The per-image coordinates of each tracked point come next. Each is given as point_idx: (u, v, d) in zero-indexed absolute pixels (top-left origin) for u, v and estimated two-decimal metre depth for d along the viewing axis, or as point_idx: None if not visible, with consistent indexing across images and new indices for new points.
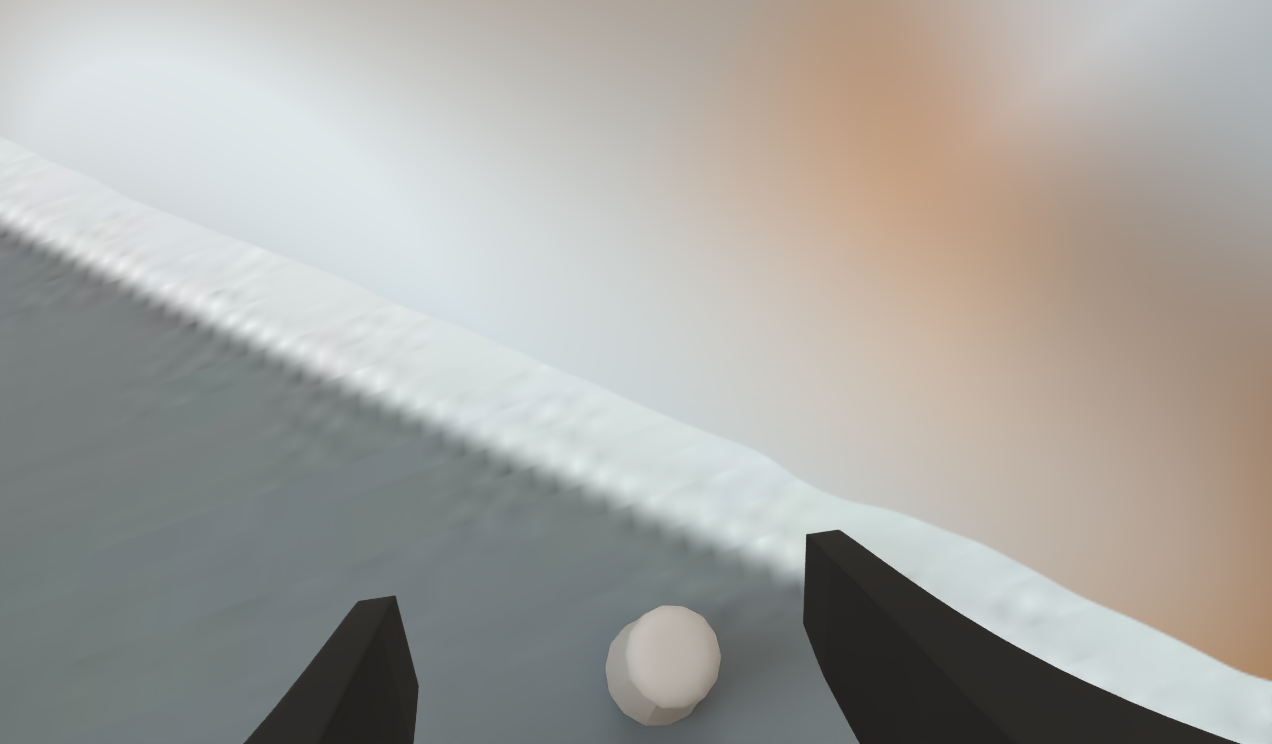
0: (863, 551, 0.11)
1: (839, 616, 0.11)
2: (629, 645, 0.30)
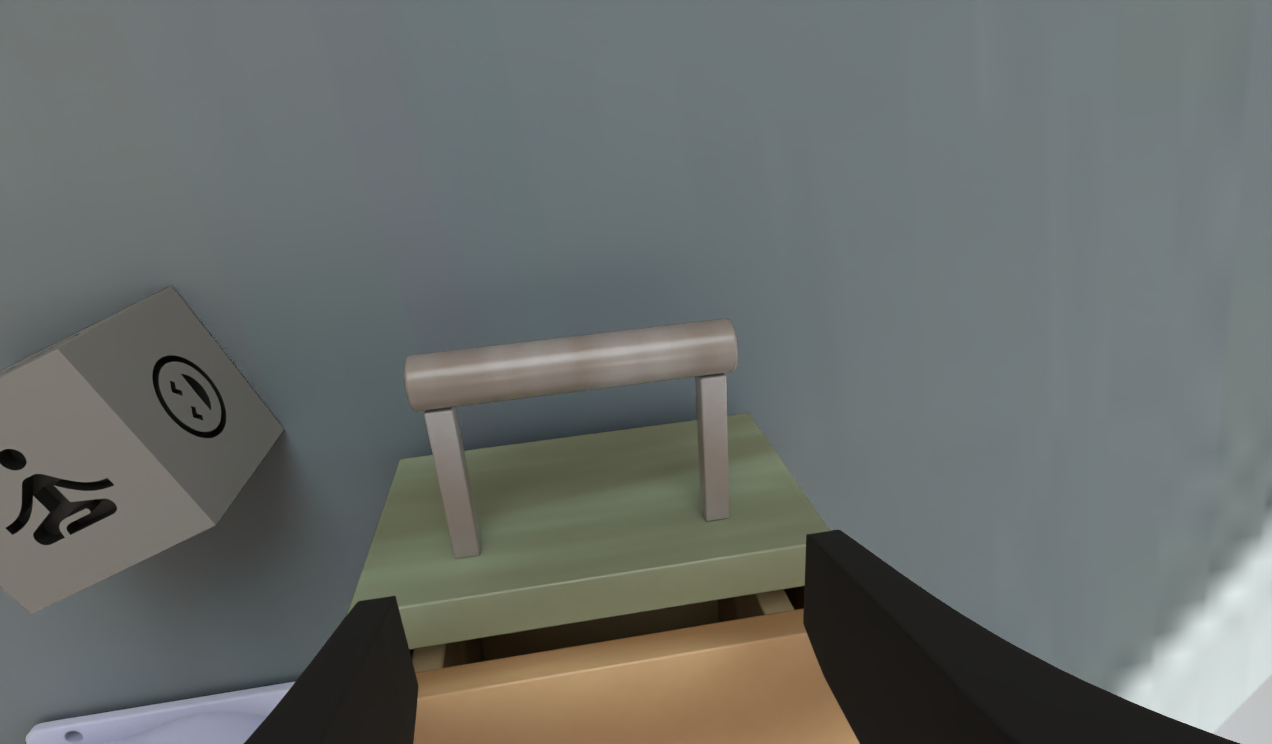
0: (862, 551, 0.11)
1: (839, 616, 0.11)
2: None
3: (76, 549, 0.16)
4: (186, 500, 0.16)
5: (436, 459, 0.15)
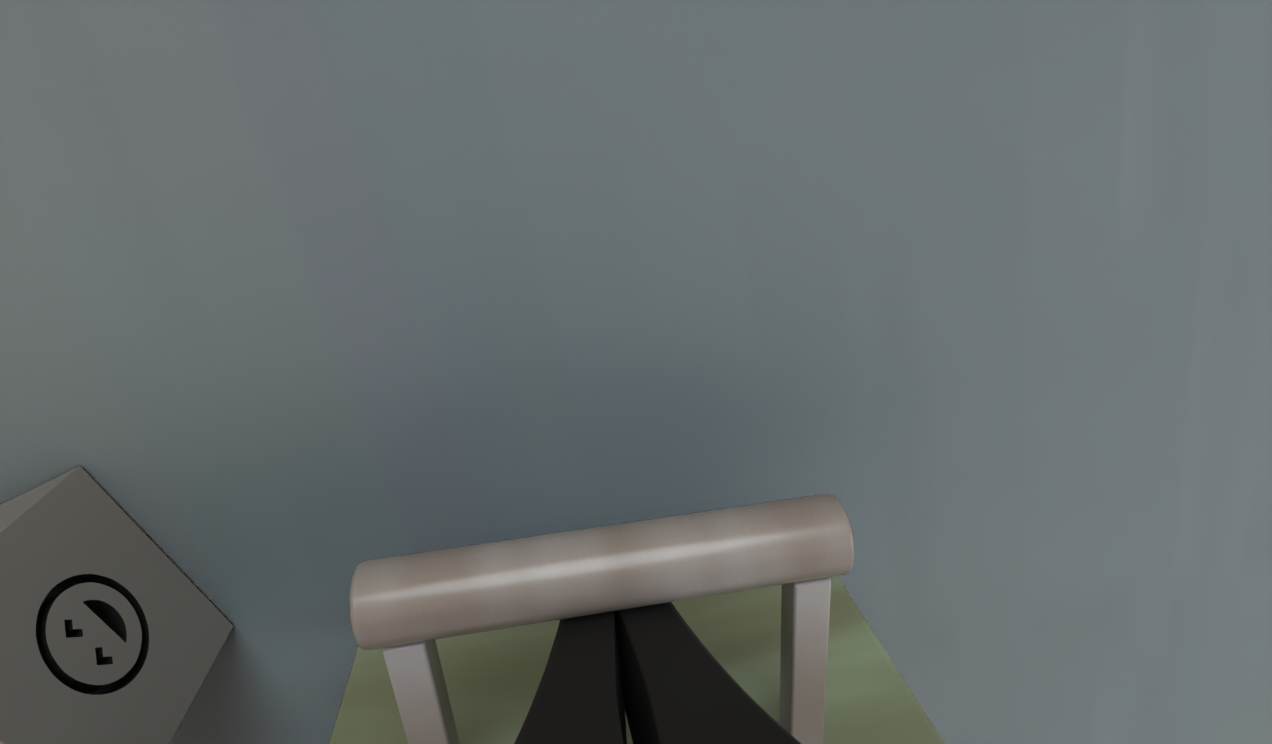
0: None
1: (622, 651, 0.11)
2: None
3: None
4: None
5: (402, 709, 0.10)
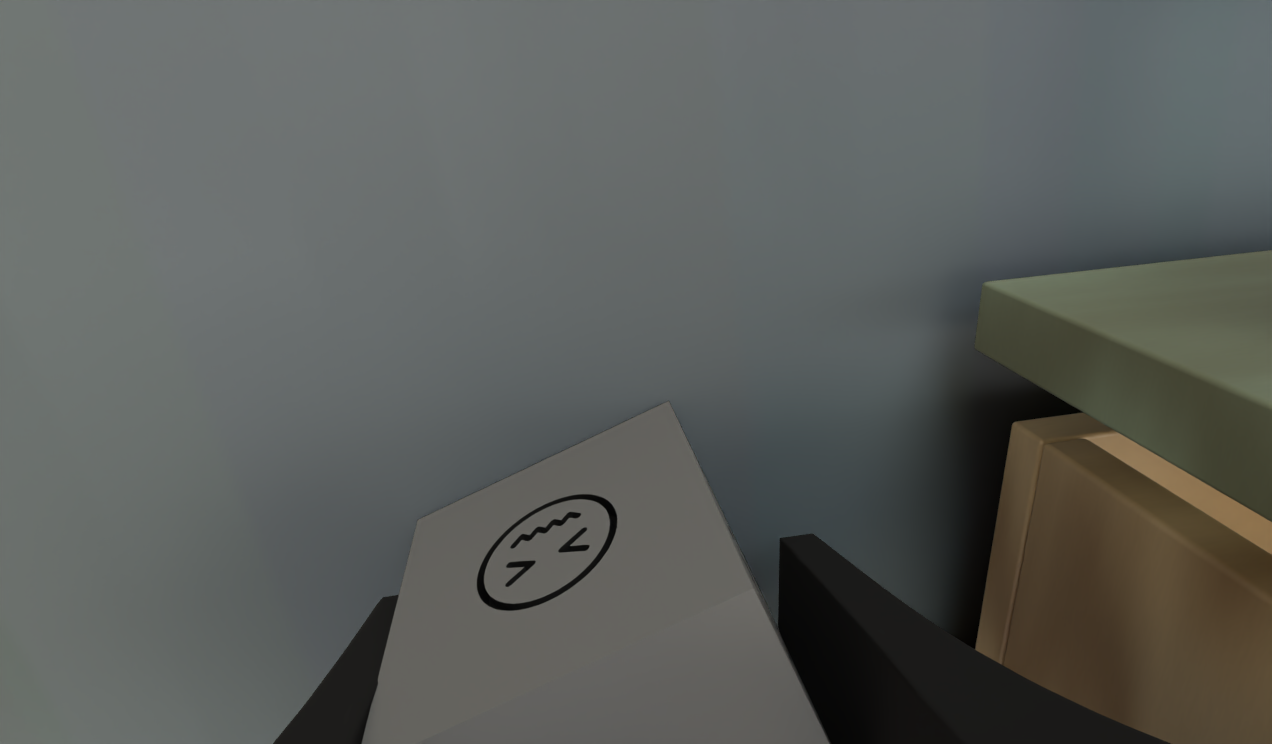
0: (834, 555, 0.11)
1: (810, 621, 0.11)
2: None
3: None
4: None
5: None
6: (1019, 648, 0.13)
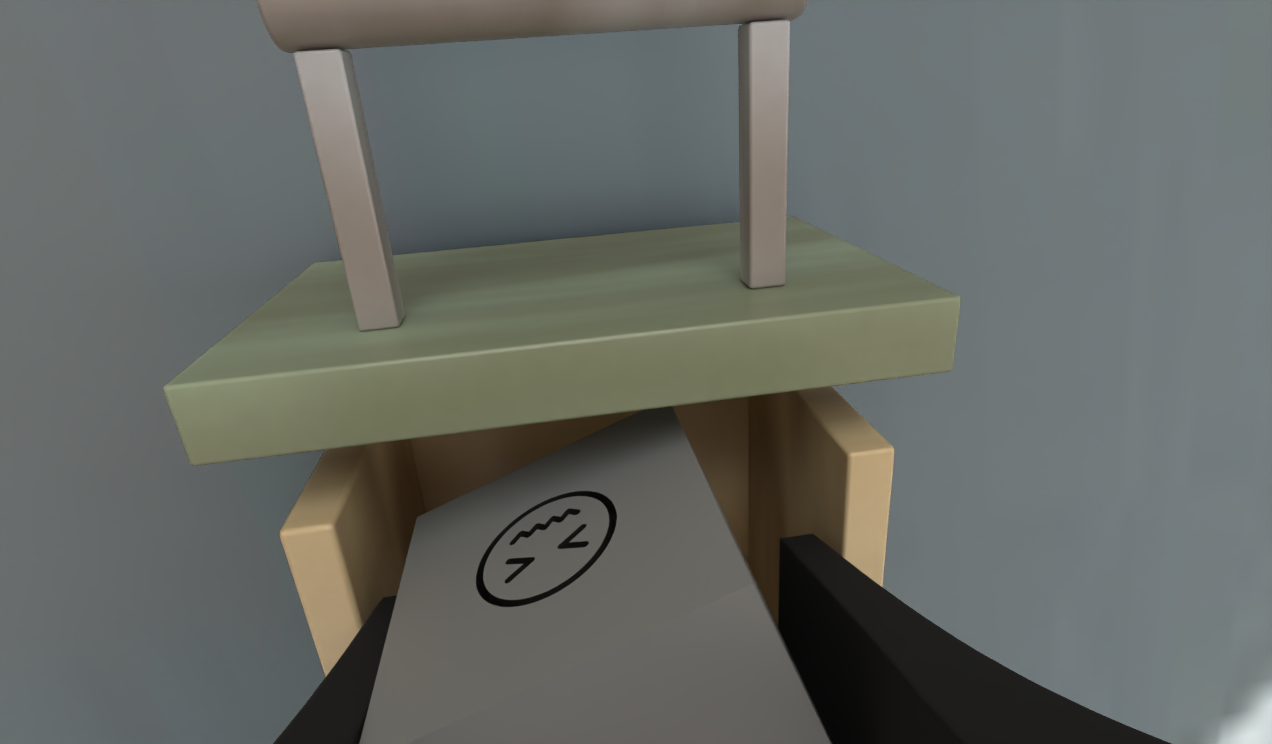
0: (835, 556, 0.11)
1: (810, 621, 0.11)
2: None
3: None
4: None
5: (318, 142, 0.09)
6: None
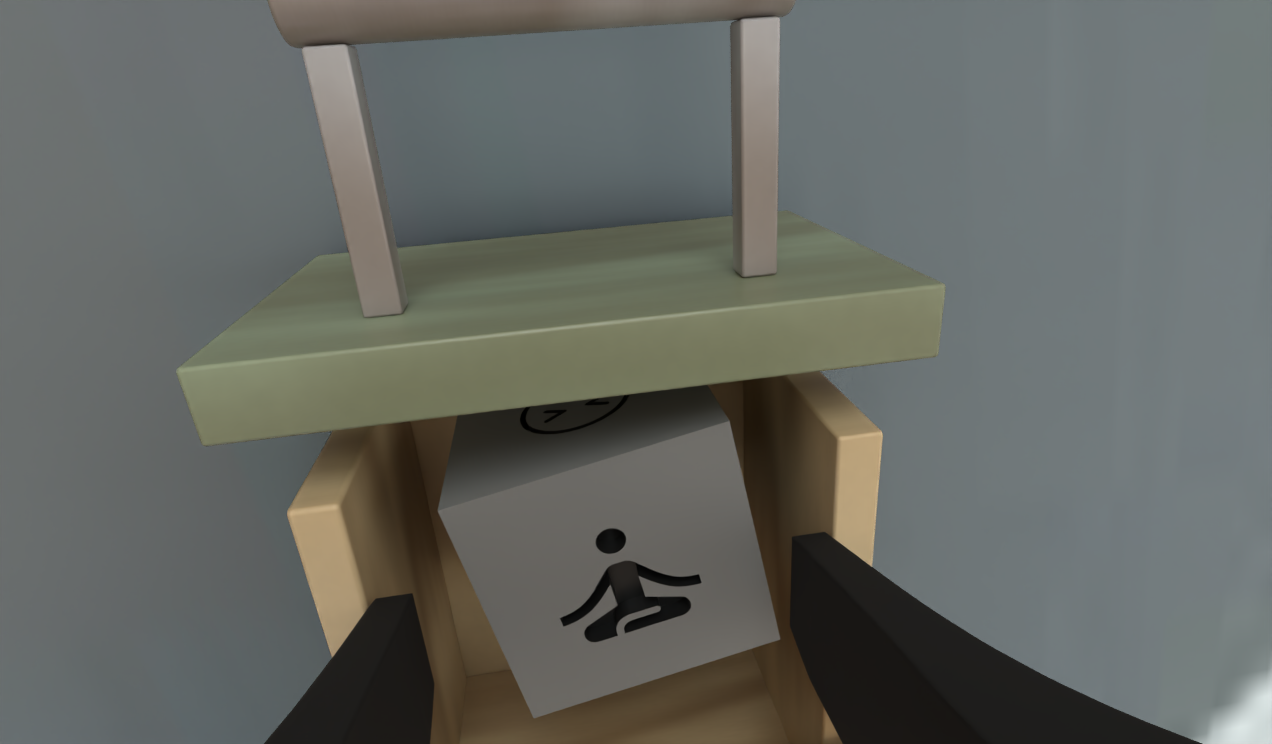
0: (848, 553, 0.11)
1: (823, 619, 0.11)
2: None
3: (621, 651, 0.13)
4: (766, 608, 0.13)
5: (325, 134, 0.10)
6: None
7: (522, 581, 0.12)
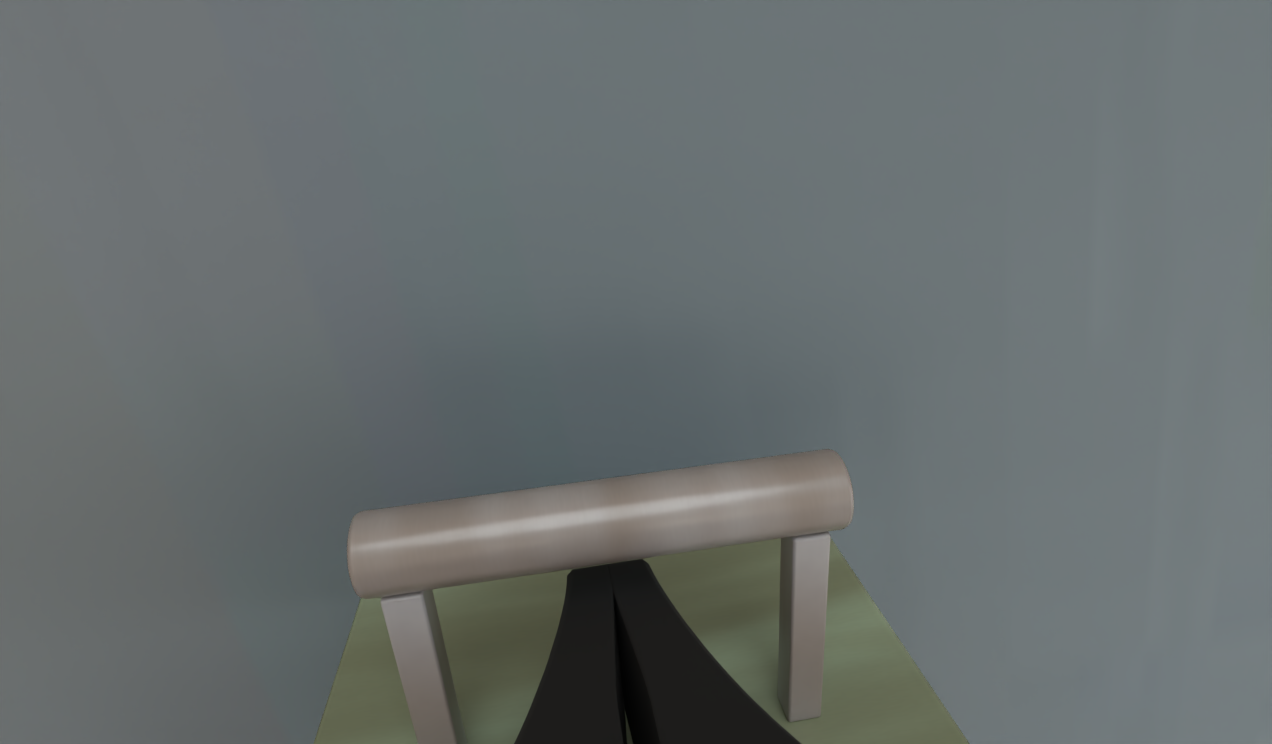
0: (649, 583, 0.11)
1: (622, 651, 0.11)
2: None
3: None
4: None
5: (399, 661, 0.10)
6: None
7: None
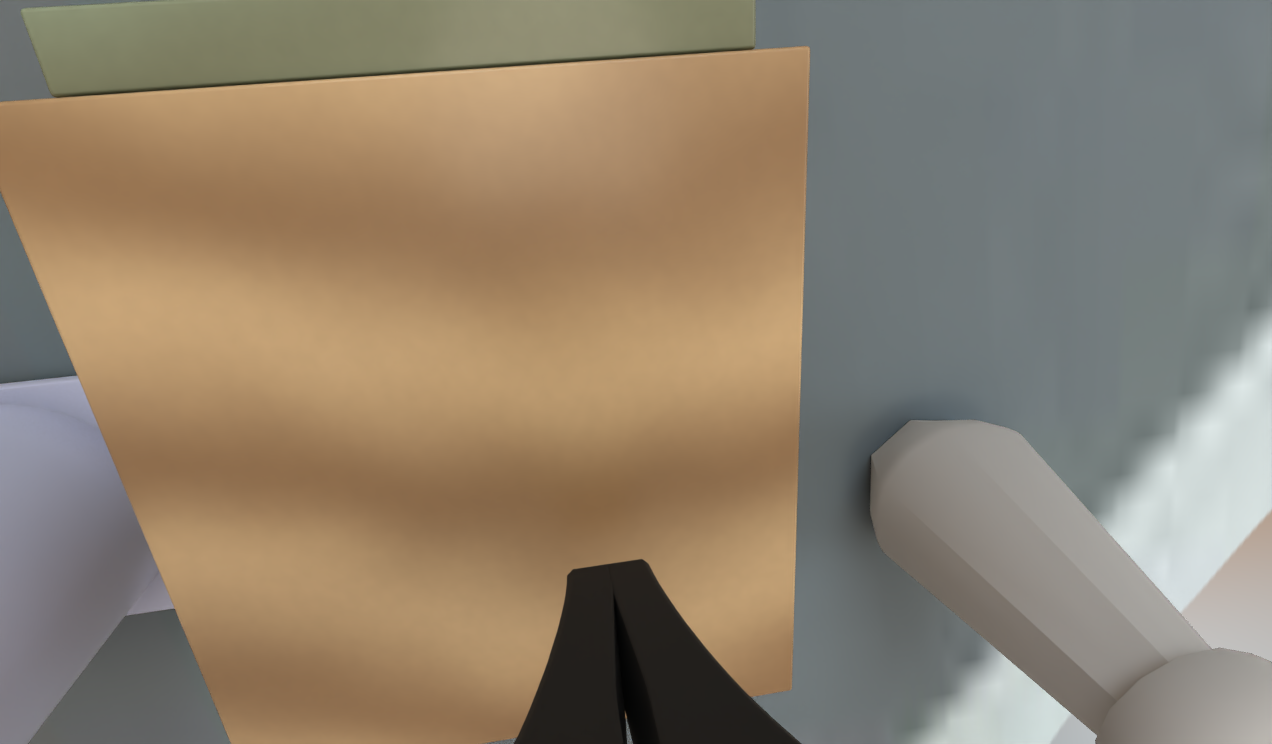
0: (649, 584, 0.11)
1: (622, 651, 0.11)
2: None
3: None
4: None
5: None
6: None
7: None
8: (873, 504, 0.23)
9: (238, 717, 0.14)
